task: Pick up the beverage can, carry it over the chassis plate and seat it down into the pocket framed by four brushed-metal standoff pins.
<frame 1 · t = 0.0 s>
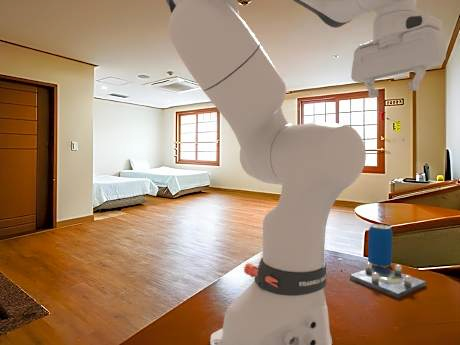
hand: (392, 94, 69), 48 cm above the table, fingers open, 8 cm apart
chassis: (386, 282, 79), on the table
beverage can: (379, 265, 92), on the table
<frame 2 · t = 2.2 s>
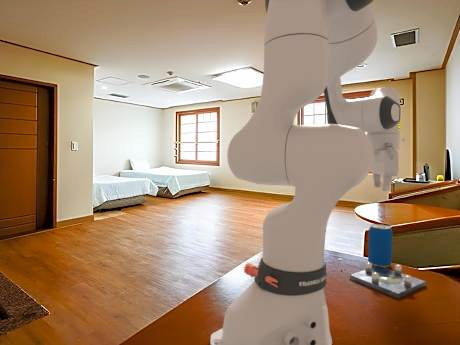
hand: (381, 189, 91), 23 cm above the table, fingers open, 8 cm apart
nothing on the table moved.
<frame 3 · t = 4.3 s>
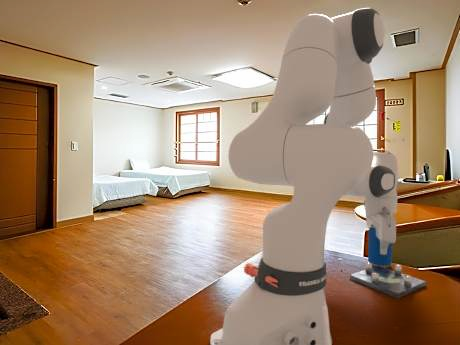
hand: (379, 249, 92), 5 cm above the table, fingers open, 7 cm apart
beverage can: (379, 265, 92), on the table, touching gripper
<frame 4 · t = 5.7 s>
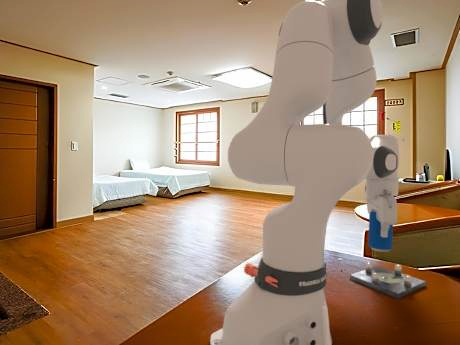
hand: (380, 233, 91), 10 cm above the table, fingers closed on beverage can, 6 cm apart
beverage can: (379, 250, 91), point 5 cm above the table, touching gripper
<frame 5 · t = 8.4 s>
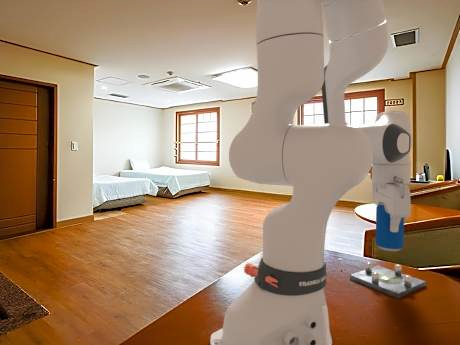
hand: (388, 227, 78), 15 cm above the table, fingers closed on beverage can, 6 cm apart
beverage can: (389, 248, 79), point 9 cm above the table, touching gripper
when the fingers open (7 cm above the table, at t = 11.5 s): beverage can stays where it is, resting on chassis.
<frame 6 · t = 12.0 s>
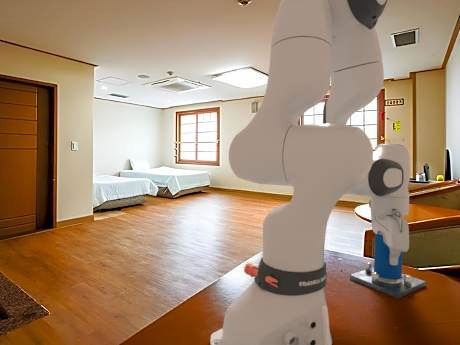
hand: (387, 257, 79), 7 cm above the table, fingers open, 8 cm apart
beverage can: (387, 278, 79), point 1 cm above the table, touching chassis
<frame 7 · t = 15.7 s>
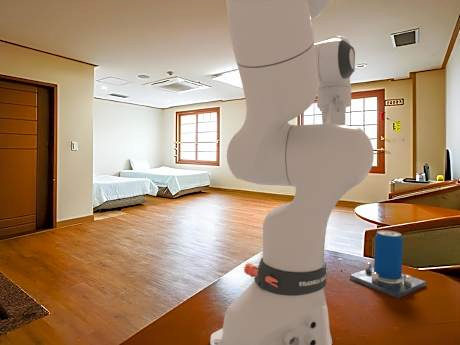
hand: (332, 150, 83), 35 cm above the table, fingers open, 8 cm apart
nothing on the table moved.
at the end: beverage can 0.2 cm from the chassis (horizontally); beverage can tilted 0°; the gripper is holding nothing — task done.
